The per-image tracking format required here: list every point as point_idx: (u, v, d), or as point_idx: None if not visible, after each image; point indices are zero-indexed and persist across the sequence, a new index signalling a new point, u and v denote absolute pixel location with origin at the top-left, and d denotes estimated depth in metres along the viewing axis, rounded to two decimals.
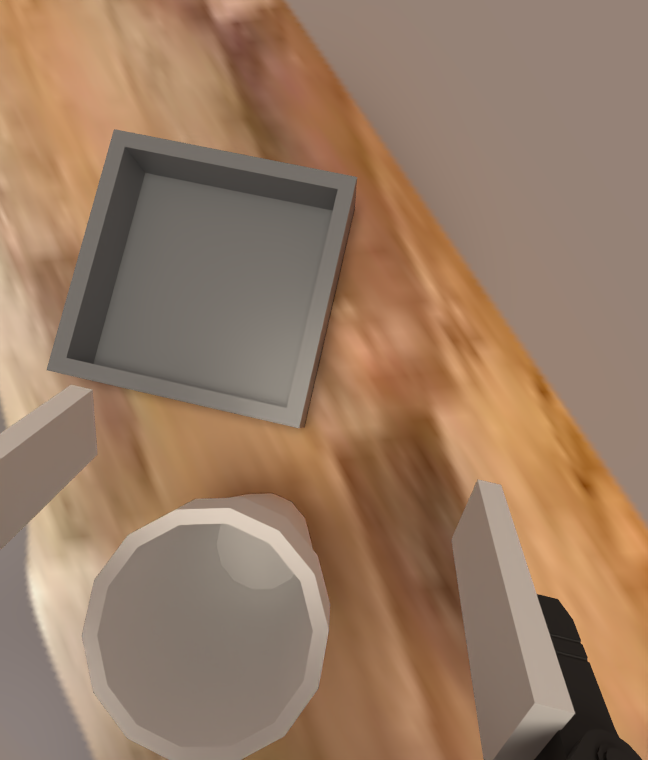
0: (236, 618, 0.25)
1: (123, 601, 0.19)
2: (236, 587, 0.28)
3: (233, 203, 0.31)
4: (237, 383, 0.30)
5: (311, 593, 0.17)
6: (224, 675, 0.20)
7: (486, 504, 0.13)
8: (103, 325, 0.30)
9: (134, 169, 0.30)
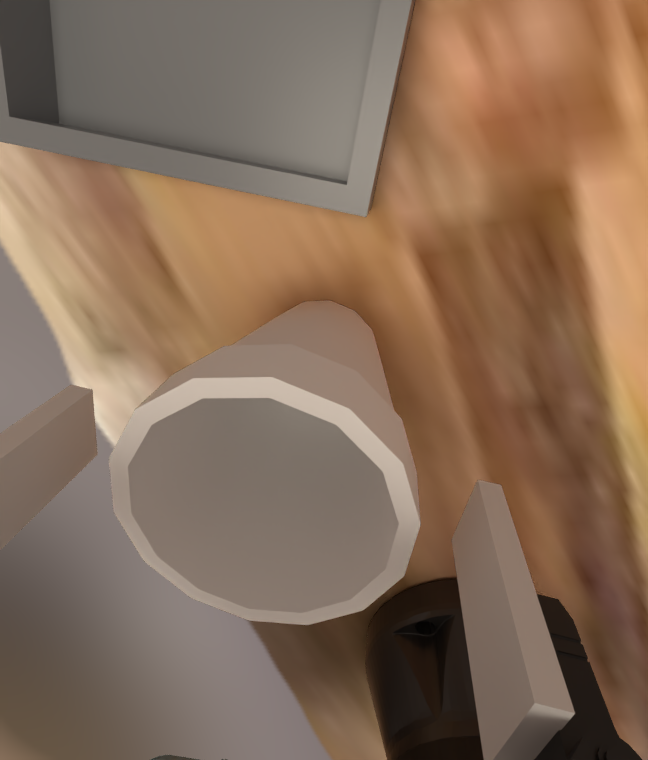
0: (298, 445, 0.22)
1: (158, 467, 0.15)
2: None
3: None
4: (269, 143, 0.20)
5: (398, 485, 0.12)
6: (289, 519, 0.18)
7: (486, 504, 0.13)
8: (54, 53, 0.19)
9: None
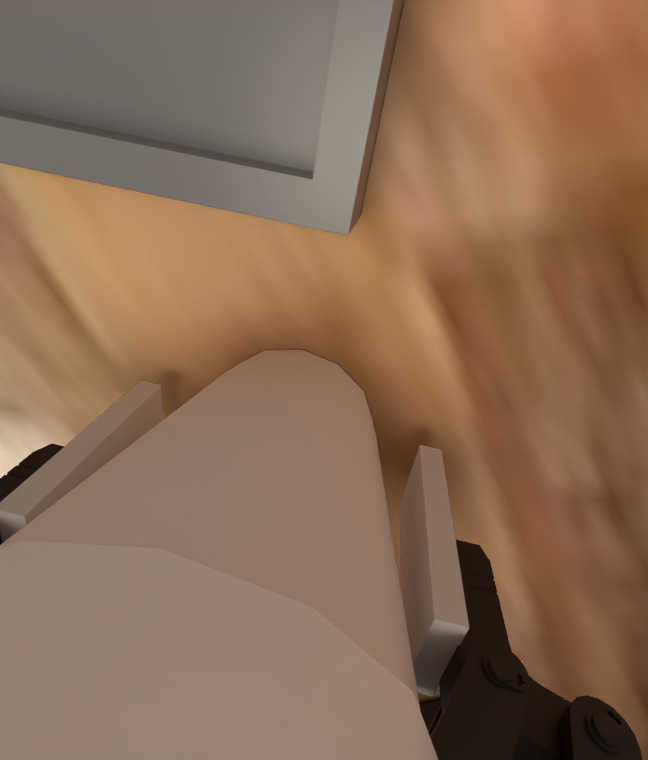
0: None
1: None
2: None
3: None
4: (194, 112, 0.12)
5: None
6: None
7: (423, 465, 0.14)
8: None
9: None
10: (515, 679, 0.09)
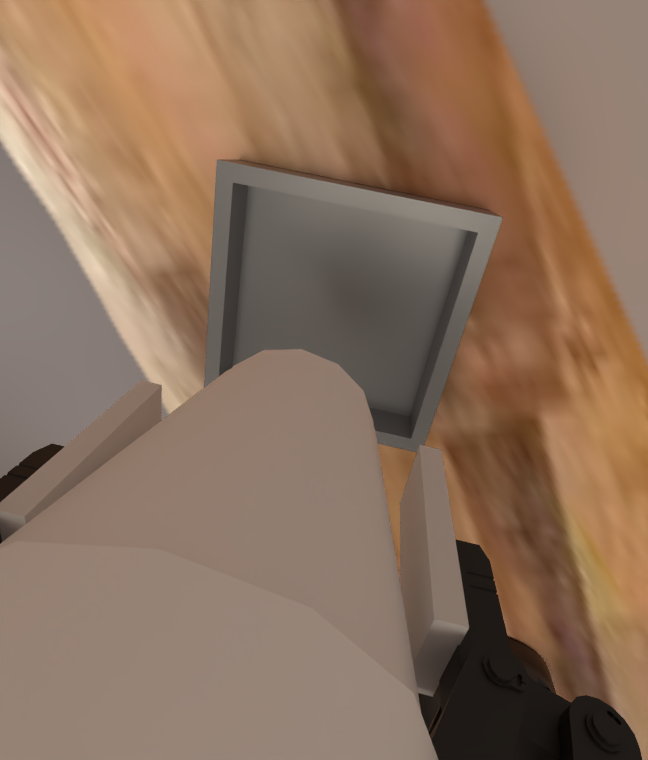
0: None
1: None
2: None
3: (350, 217, 0.28)
4: None
5: None
6: None
7: (423, 465, 0.14)
8: (234, 344, 0.33)
9: (241, 191, 0.27)
10: (515, 679, 0.09)
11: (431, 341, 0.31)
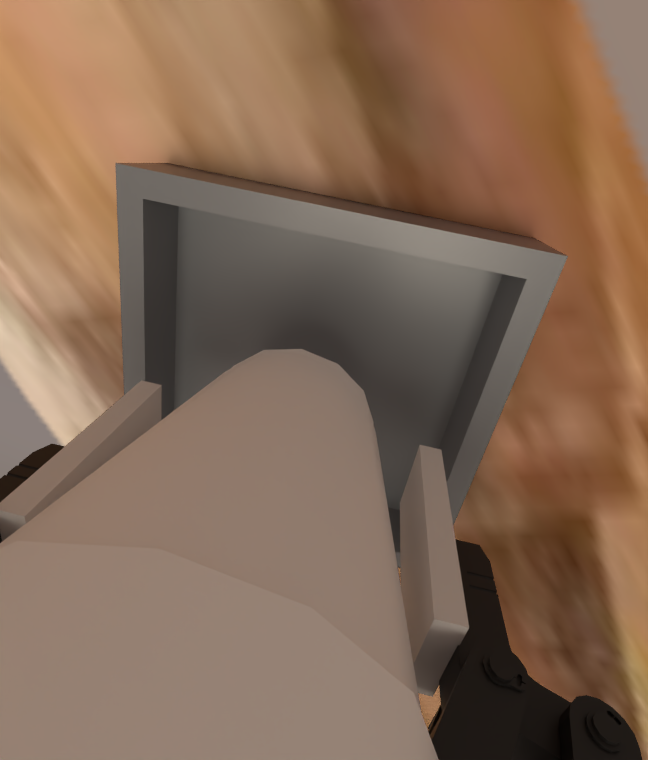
0: None
1: None
2: None
3: (328, 248, 0.19)
4: None
5: None
6: None
7: (423, 465, 0.14)
8: None
9: (163, 210, 0.18)
10: (516, 679, 0.09)
11: (446, 420, 0.22)
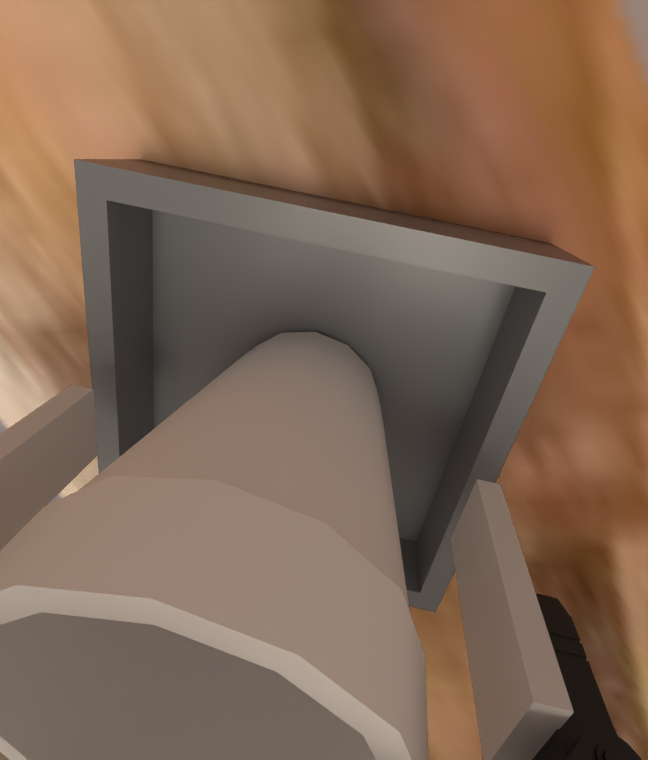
0: None
1: (37, 631, 0.10)
2: None
3: (321, 255, 0.17)
4: None
5: (390, 753, 0.07)
6: None
7: (485, 503, 0.13)
8: None
9: (134, 213, 0.16)
10: None
11: (451, 442, 0.20)
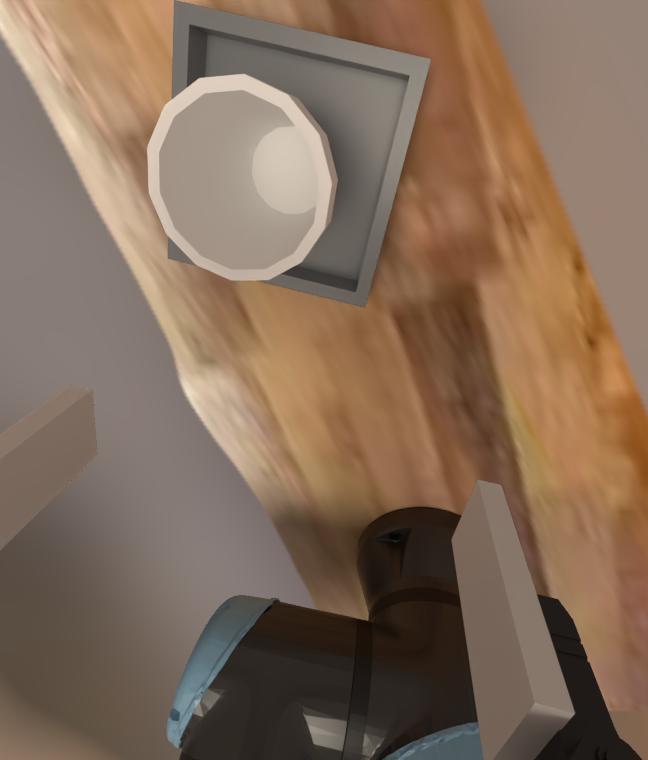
0: (271, 225, 0.31)
1: (175, 176, 0.24)
2: (271, 210, 0.33)
3: (300, 73, 0.30)
4: (314, 259, 0.36)
5: (317, 152, 0.21)
6: (261, 247, 0.27)
7: (486, 504, 0.13)
8: None
9: (199, 40, 0.29)
10: None
11: (376, 202, 0.33)
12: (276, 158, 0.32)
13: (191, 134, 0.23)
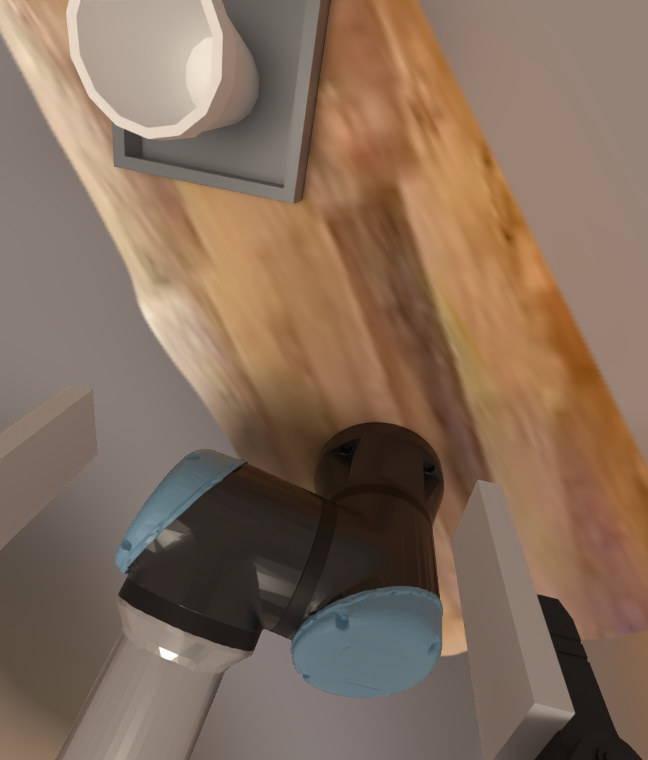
0: None
1: (96, 47, 0.27)
2: None
3: None
4: (249, 167, 0.40)
5: (207, 4, 0.24)
6: None
7: (486, 504, 0.13)
8: None
9: None
10: None
11: None
12: (206, 67, 0.36)
13: (109, 10, 0.27)
